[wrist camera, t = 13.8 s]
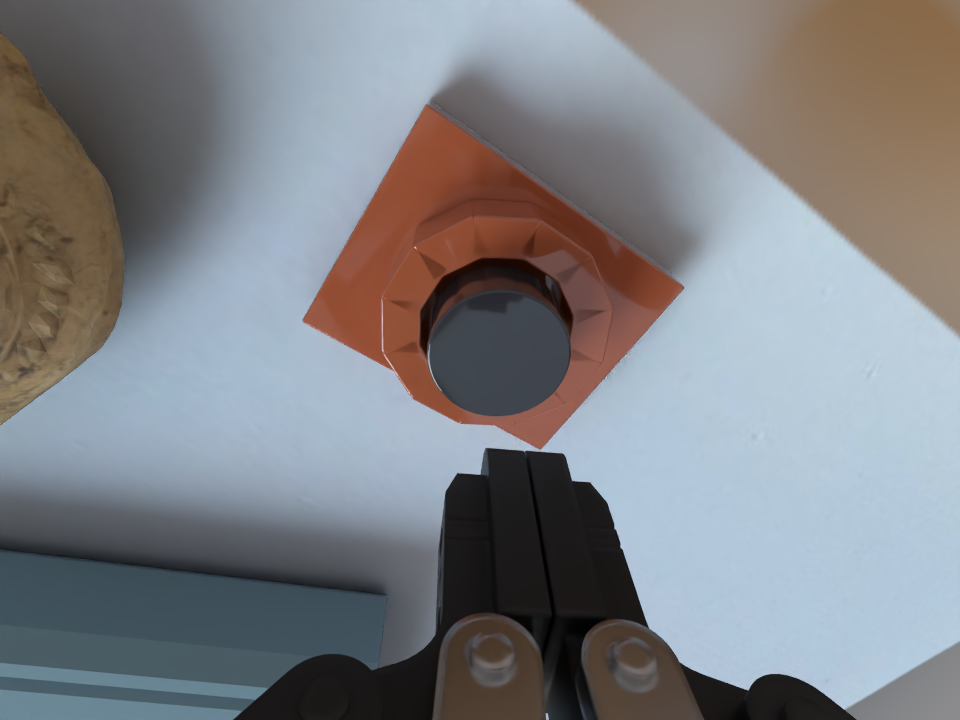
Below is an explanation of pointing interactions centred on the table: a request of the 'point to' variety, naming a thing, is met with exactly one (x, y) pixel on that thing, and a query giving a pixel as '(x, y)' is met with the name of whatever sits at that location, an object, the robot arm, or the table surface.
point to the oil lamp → (49, 243)
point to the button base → (479, 242)
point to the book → (161, 638)
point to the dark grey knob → (497, 341)
